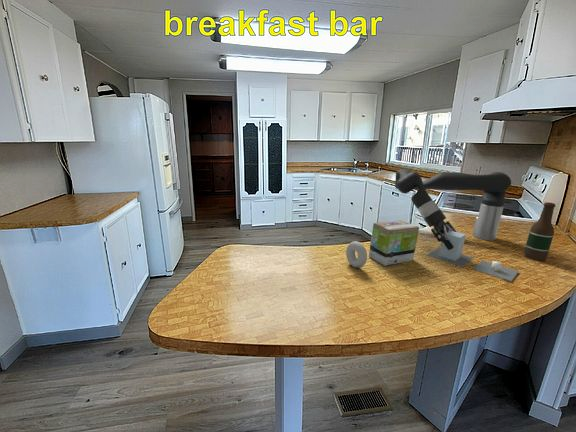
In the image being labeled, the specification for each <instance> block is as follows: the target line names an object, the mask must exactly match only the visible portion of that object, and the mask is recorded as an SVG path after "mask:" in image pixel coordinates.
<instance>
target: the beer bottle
mask: <svg viewBox="0 0 576 432" xmlns="http://www.w3.org/2000/svg"><path fill="white" fill-rule="evenodd" d="M555 208H556V203H553V202H548V201H547V202H544V203H543V208H542V211H541V213H540V216H539V218H538V220H537V221H536V222H535V223H533V224H532V225H531V227H530V230H529V232H528V237H527V240H526V243H525V247H524V250H523V251H524V252H523V255H524V257H526V258H527V259H529V260H533V261H538V262H540V261H541V262H542V261H546V260H547V258H548V254H549V251H550V250H551V249H550V248H551V245H552V241H553V238H554V234H555V229H554V226H553V224H552V220H553V215H554V210H555Z"/></svg>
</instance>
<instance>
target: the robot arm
mask: <svg viewBox="0 0 576 432" xmlns="http://www.w3.org/2000/svg"><path fill="white" fill-rule="evenodd" d="M394 181H395V182H394V186H395V187H394V188H395V189H396V190H398V191H399V192H400V193H402V194H404V195H405V194H408V193H410V192H412V191H413V190H417V192H415V193H414V194H413V195H412V197H411V198H410V199H411V202H412V203H413V205H414V206H415V208H416V209H417V211H418V212H419V214H420V216H421V217H422V218H423V220H424V221H425V223H426V224H427V226H428V227H429V228H431V229H430V231H431V232H432V234H433V235H434V237H435V238H436V240H437V242H439V243H441V242H443V243H444V245H445V246H446V247H447V249H448V250H451V249H453V248H454V247H453V245H452V244H451V243H450V241H449V240H448V238H447V232H449V230H450V231H454V232H457V230H456V229H455V227H454V226H453V225H452V224H451V223H450V221H445V220H446V219H447V217H446V215H445V214H444V212H443V211H442V209H440V207H439V205H438V204H437V203H436V202H435V201H434V200H433V198H432V197H431V196H430V195H429V193H428V192H427V190H431V191H433V190H436V191H482V195H481V201H480V202H481V203H480V207H479V212H478V216H476V217H475V222H474V225H473V231H472V235H473V236H474V237H475V238H477V239H481V240H485V241H495V240H496V239H497V235H498V231H499V226H500V222H501V218H502V215H503V211H504V207H505V202H506V200H505V198H506V192H507V190H509V188H510V187H511V185H512V179H511V177H510V176H509V175H508V174H506V173H504V172H501V171H494V172H491V173H488V174H470V173H466V172H465V173H464V172H454V171H453V172H449V171H447V172H445V171H444V172H443V171H442V172H439V173H437V174H435V175H433V176H431V177H430V178H427V179H425V180H424V181H423V180H422V176H421V175H420V173H418V172H417V171H413V170H412V169H409V168H402V169H397V171H396V173H395V180H394Z"/></svg>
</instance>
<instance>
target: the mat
mask: <svg viewBox="0 0 576 432" xmlns="http://www.w3.org/2000/svg"><path fill="white" fill-rule="evenodd" d="M439 252H440V247H438V248H436V249H434V250H432V251H431V252H428V253H426V254H425V257H430V258H433V259H436V260H440V261H442V262H445V263H448V264H452V265H456V266H459V267H461V268H463V267H464V266H466V265H467V264H468V263H470V262H471V261H472V260H474V257H473V256H469V255H465V254H463V253H462V254H461V257H460V258H459V259H457V260H456V261H454V260H450V259H447V258H444V257H441V256H439Z"/></svg>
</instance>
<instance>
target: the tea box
mask: <svg viewBox="0 0 576 432" xmlns="http://www.w3.org/2000/svg"><path fill="white" fill-rule="evenodd" d="M419 232H420V227H419V226H418V225H415V224H413V223H409V222H407V221H404V220H401V219H400V220H390V221H382V222H381V221H380V222H373V225H372V231H371V238H370V244H369V245H370V246H369V250H368V257H369V258H371V259H372V260H374V261H376V262H378V263H379V264H381V265H382V266H385V267H386V266H390V265H395V264H400V263H405V262H406V263H407V262H409V261H413V260H414V257H415V253H416V246H417V243H418V242H417V241H418V236H419Z"/></svg>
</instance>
